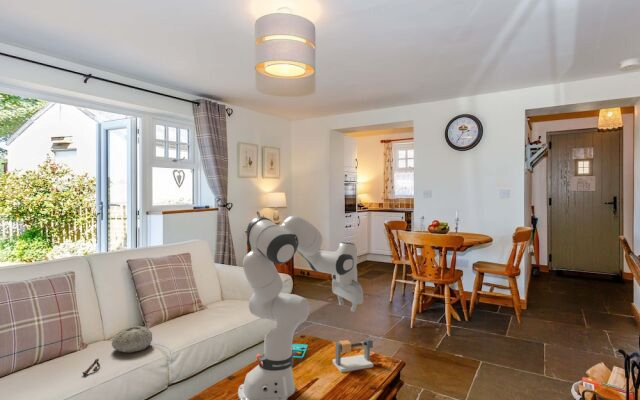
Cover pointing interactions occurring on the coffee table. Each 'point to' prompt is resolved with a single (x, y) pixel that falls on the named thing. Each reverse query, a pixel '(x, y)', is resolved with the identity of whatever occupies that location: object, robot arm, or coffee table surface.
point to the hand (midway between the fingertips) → (347, 308)
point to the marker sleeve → (345, 346)
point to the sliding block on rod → (354, 357)
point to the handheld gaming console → (299, 349)
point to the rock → (132, 339)
